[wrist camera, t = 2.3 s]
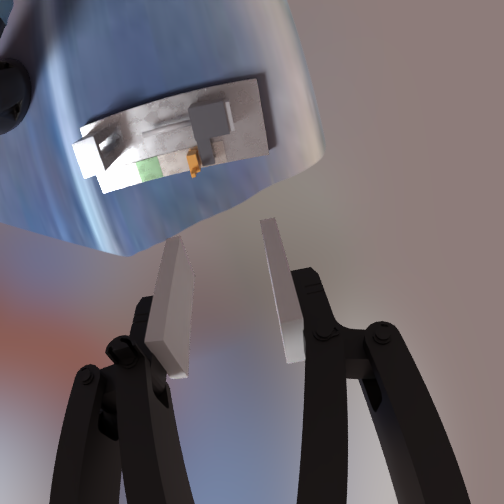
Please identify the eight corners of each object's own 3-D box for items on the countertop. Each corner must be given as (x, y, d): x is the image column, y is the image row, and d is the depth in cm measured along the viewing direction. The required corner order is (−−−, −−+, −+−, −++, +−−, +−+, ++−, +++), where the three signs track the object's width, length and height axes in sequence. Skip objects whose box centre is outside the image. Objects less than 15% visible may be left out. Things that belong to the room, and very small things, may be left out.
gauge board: (107, 188, 50) (92, 209, 44) (84, 125, 42) (63, 138, 36) (267, 150, 49) (274, 167, 43) (255, 77, 41) (261, 81, 35)
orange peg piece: (192, 167, 47) (189, 179, 43) (187, 151, 46) (184, 161, 42) (201, 165, 47) (199, 177, 43) (196, 149, 46) (194, 159, 42)
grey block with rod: (159, 172, 48) (153, 184, 44) (142, 117, 42) (134, 124, 38) (239, 154, 47) (241, 164, 43) (228, 95, 41) (228, 99, 37)
